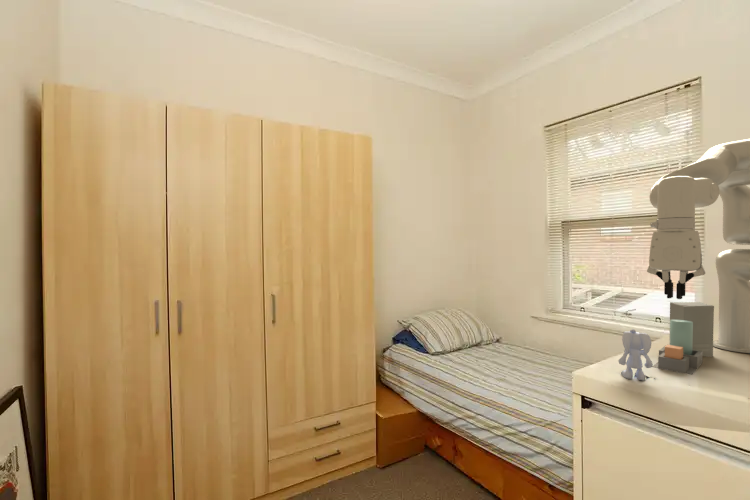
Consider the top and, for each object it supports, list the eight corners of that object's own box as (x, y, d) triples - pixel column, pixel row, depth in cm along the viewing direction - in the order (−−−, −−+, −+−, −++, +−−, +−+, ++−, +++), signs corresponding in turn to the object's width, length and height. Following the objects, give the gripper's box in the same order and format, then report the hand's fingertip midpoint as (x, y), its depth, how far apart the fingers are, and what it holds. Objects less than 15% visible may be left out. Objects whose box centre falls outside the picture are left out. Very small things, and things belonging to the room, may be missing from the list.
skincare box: (696, 353, 114) (697, 301, 114) (715, 360, 107) (716, 304, 107) (666, 352, 115) (667, 300, 115) (683, 359, 108) (684, 304, 108)
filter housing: (665, 359, 108) (665, 345, 108) (702, 366, 102) (702, 351, 102) (651, 370, 98) (652, 355, 98) (691, 378, 92) (692, 362, 92)
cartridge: (671, 358, 105) (671, 318, 105) (693, 362, 102) (694, 321, 102) (667, 361, 102) (668, 320, 102) (690, 365, 99) (691, 323, 99)
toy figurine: (648, 376, 93) (648, 327, 93) (654, 384, 88) (655, 332, 88) (615, 372, 96) (616, 324, 96) (619, 379, 91) (620, 329, 90)
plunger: (667, 363, 99) (667, 344, 99) (682, 366, 96) (683, 347, 96) (664, 366, 97) (664, 346, 97) (680, 369, 94) (680, 349, 94)
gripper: (635, 226, 99) (634, 296, 100) (714, 224, 88) (713, 303, 88) (643, 227, 104) (642, 294, 105) (718, 225, 93) (717, 300, 93)
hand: (674, 297), depth 96 cm, fingers closed
